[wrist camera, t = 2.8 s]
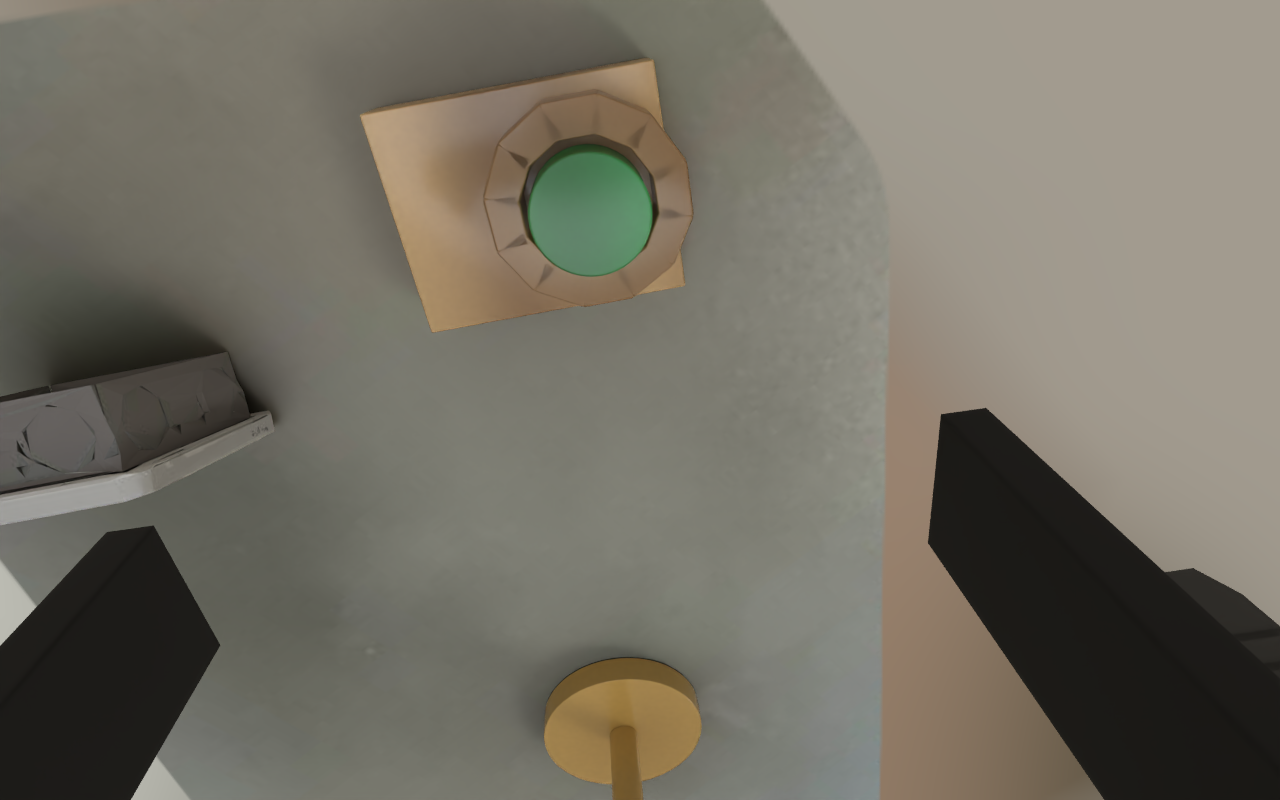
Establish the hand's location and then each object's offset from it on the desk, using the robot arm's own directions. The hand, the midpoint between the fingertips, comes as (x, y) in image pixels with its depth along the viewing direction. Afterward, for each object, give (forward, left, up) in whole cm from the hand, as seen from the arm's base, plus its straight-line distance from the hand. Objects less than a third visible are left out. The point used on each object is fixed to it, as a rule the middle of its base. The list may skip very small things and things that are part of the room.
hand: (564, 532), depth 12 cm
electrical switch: (+19, +3, -18) cm, 27 cm away
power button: (-1, -2, -15) cm, 15 cm away
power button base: (+1, -2, -18) cm, 18 cm away
